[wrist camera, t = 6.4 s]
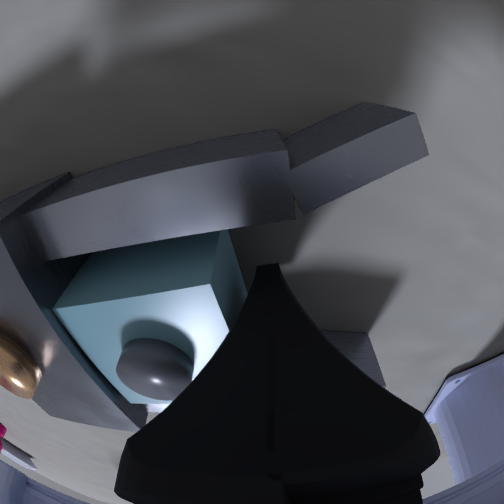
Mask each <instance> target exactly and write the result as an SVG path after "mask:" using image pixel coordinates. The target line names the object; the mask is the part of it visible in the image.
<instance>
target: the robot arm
mask: <svg viewBox="0 0 504 504" xmlns="http://www.w3.org/2000/svg"><path fill="white" fill-rule="evenodd" d="M435 422H437V425H438V428H439V430H440V433H441V436H442V439H443V443H444V446H445V449H446V452H447V455H448V458H449V462H450V465H451V469H452V472H453V476H454V480H455V484H456V485H455V486H453V487H451V488H449V489H447V490H444V491H442V492H440V493H437V494H435V495H433V496H430V497H428V498H425V499H422V496H421V491H420V489H421V488H422V487H423V480H422V476H421V473H422V472H424V471H425V470H426V469H427V468H428V467H430V466H431V465H432V464H434V463H435V461H436V460H437V459H438V458H439V456H440V449H439V445H438V442H437V439H436V437H435V435H434V433H433V431H432V429H431V427H430V425H429V424H432V423H435ZM114 492H115V493H116V494H117V495H118V496H119V497H120V498H122V499H125V500H127V501H129V502H131V503H134V504H504V354H502V355H500V356H498V357H496V358H494V359H492V360H489V361H487V362H485V363H483V364H480V365H478V366H475V367H473V368H471V369H468V370H466V371H463V372H461V373H458V374H455V375H453V376H451V377H449V378H448V379H447V380H446V381H445V383H444V384H443V386H442V388H441V389H440V391H439V393H438V394H437V396H436V397H435V399H434V401H433V402H432V404H431V405H430V407H429V408H428V410H427V411H426V413H425V414H424V415H423V413H422V412H420V411H419V410H417V409H415V408H414V407H412V406H410V405H409V404H407V403H405V402H404V401H402V400H401V399H399V398H398V397H396V396H395V395H393V394H392V393H390V392H389V391H387V390H386V389H385V388H383V387H382V386H381V385H379V384H378V383H377V382H375V381H374V380H373V379H371V378H370V377H369V376H368V375H366V374H365V373H364V372H363V371H362V370H361V369H359V368H358V367H357V366H356V365H355V364H353V363H352V362H351V361H350V360H349V359H348V358H346V357H345V356H344V355H343V354H342V353H341V352H340V351H339V350H338V349H337V348H336V347H335V346H334V345H333V344H332V343H331V342H330V341H329V340H328V339H327V337H326V336H325V335H324V334H323V333H322V332H321V331H320V330H319V329H318V327H317V326H316V325H315V324H314V323H313V321H312V320H311V319H310V317H309V316H308V315H307V314H306V312H305V311H304V310H303V308H302V307H301V305H300V304H299V302H298V301H297V299H296V298H295V296H294V295H293V293H292V292H291V290H290V288H289V287H288V285H287V283H286V281H285V279H284V277H283V275H282V273H281V270H280V266H279V263H275V264H268V265H260V266H257V267H256V275H255V278H254V281H253V283H252V286H251V289H250V291H249V293H248V296H247V298H246V300H245V302H244V304H243V306H242V309H241V311H240V312H239V314H238V316H237V318H236V320H235V322H234V323H233V325H232V327H231V329H230V330H229V332H228V334H227V335H226V337H225V339H224V340H223V342H222V343H221V345H220V346H219V348H218V349H217V350H216V352H215V353H214V355H213V356H212V357H211V359H210V360H209V361H208V362H207V364H206V365H205V366H204V368H203V369H202V370H201V371H200V372H199V374H198V375H197V376H196V377H195V378H194V380H193V381H192V382H191V383H190V384H189V385H188V386H187V387H186V388H185V389H184V390H183V391H182V392H181V393H180V394H179V395H178V396H177V397H176V398H175V399H174V400H173V401H172V402H171V403H170V404H169V405H168V406H167V407H166V408H165V409H164V410H163V411H162V412H161V413H160V414H159V415H157V416H156V417H155V418H154V419H152V420H151V421H150V422H149V423H148V424H146V425H145V426H144V427H143V428H141V429H140V430H139V431H138V432H136V433H135V434H134V435H132V436H131V437H130V438H128V439H127V442H126V445H125V447H124V450H123V453H122V456H121V460H120V464H119V469H118V473H117V478H116V483H115V488H114ZM0 504H89V503H86V502H83V501H80V500H78V499H75V498H73V497H70V496H68V495H65V494H63V493H61V492H58V491H56V490H54V489H51V488H49V487H47V486H45V485H43V484H41V483H38V482H36V481H35V480H33V479H31V478H29V477H27V476H26V475H25V474H23V473H21V472H20V471H18V470H17V469H15V468H13V467H12V466H10V465H8V464H7V463H5V462H3V461H2V460H0Z"/></svg>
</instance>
